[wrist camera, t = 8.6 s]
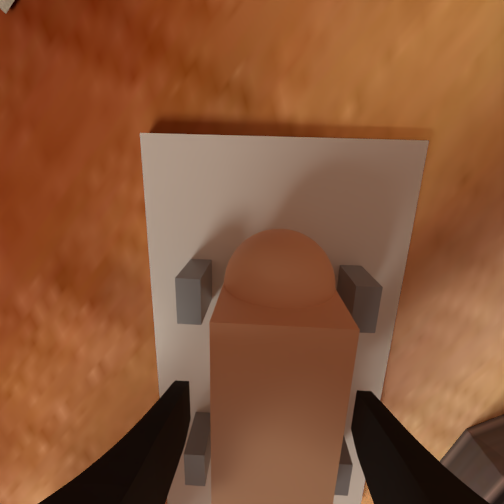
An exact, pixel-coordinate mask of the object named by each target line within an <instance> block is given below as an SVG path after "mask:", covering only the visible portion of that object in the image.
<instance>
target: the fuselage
mask: <svg viewBox="0 0 504 504" xmlns="http://www.w3.org/2000/svg"><path fill="white" fill-rule="evenodd" d="M209 329H210V426H211V504H333V500H334V493H335V487H336V481H337V474H338V468H339V461H340V455H341V448H342V442H343V435H344V429H345V422H346V416H347V410H348V403H349V397H350V390H351V384H352V377H353V371H354V364H355V358H356V352H357V345H358V339H359V332H360V329H359V328H358V326H357V324H356V323H355V321H354V319H353V318H352V316H351V314H350V312H349V311H348V309H347V307H346V306H345V304H344V302H343V301H342V299H341V297H340V296H339V294H338V292H337V291H336V289H335V275H334V271H333V267H332V265H331V262H330V260H329V258H328V256H327V255H326V253H325V252H324V250H323V249H322V248H321V247H320V246H319V245H318V244H317V243H316V242H315V241H314V240H312V239H311V238H310V237H308V236H306V235H304V234H302V233H300V232H297V231H293V230H289V229H270V230H265V231H262V232H259V233H257V234H254V235H252V236H251V237H249V238H247V239H246V240H245V241H244V242H242V243H241V244H240V245H239V246H238V247H237V249H236V250H235V251H234V253H233V254H232V256H231V258H230V260H229V262H228V265H227V267H226V272H225V277H224V283H223V286H222V289H221V292H220V294H219V297H218V300H217V303H216V306H215V308H214V311H213V314H212V317H211V319H210V322H209Z"/></svg>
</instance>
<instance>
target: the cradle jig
mask: <svg viewBox="0 0 504 504" xmlns="http://www.w3.org/2000/svg"><path fill="white" fill-rule="evenodd" d="M140 142H141V155H142V168H143V182H144V195H145V209H146V222H147V235H148V249H149V262H150V276H151V289H152V302H153V316H154V329H155V342H156V356H157V369H158V383H159V396H160V397H161V396H162V395H163V394H164V393H165V392H166V390H167V389H168V388H169V387H170V385H171V384H172V383H173V382H174V381H175V380H177V381H189V389H190V415H191V420H190V424H189V429H188V433H187V438H186V442H185V446H184V449H183V452H182V455H181V458H180V461H179V464H178V467H177V470H176V472H175V475H174V478H173V481H172V484H171V487H170V490H169V493H168V496H167V503H168V504H211V426H210V329H209V322H210V319H211V317H212V314H213V311H214V308H215V306H216V303H217V300H218V297H219V294H220V292H221V289H222V286H223V283H224V277H225V272H226V267H227V265H228V262H229V260H230V258H231V256H232V254H233V253H234V251H235V250H236V249H237V247H238V246H239V245H240V244H241V243H242V242H244V241H245V240H246V239H247V238H249V237H251V236H252V235H254V234H257V233H259V232H262V231H265V230H270V229H289V230H293V231H297V232H300V233H302V234H304V235H306V236H308V237H310V238H311V239H312V240H314V241H315V242H316V243H317V244H318V245H319V246H320V247H321V248H322V249H323V250H324V252H325V253H326V255H327V256H328V258H329V260H330V262H331V265H332V267H333V271H334V275H335V289H336V291H337V292H338V294H339V296H340V297H341V299H342V301H343V302H344V304H345V306H346V307H347V309H348V311H349V312H350V314H351V316H352V318H353V319H354V321H355V323H356V324H357V326H358V328H359V329H360V332H359V339H358V345H357V352H356V358H355V364H354V371H353V377H352V384H351V390H350V397H349V403H348V410H347V416H346V422H345V429H344V435H343V442H342V448H341V455H340V461H339V468H338V474H337V481H336V487H335V493H334V500H333V504H361V500H362V495H363V490H364V485H365V477H364V474H363V471H362V468H361V465H360V462H359V459H358V456H357V453H356V449H355V445H354V440H353V436H352V432H351V424H352V418H353V411H354V405H355V399H356V392H357V390H360V391H372V392H373V393H374V395H375V396H376V397H377V398H378V399H379V400H380V399H381V394H382V389H383V383H384V378H385V373H386V368H387V362H388V357H389V352H390V346H391V341H392V336H393V330H394V325H395V320H396V314H397V309H398V304H399V298H400V293H401V288H402V282H403V277H404V272H405V266H406V261H407V256H408V251H409V245H410V240H411V235H412V229H413V224H414V219H415V213H416V208H417V203H418V197H419V192H420V187H421V181H422V176H423V171H424V165H425V160H426V155H427V149H428V144H429V140H393V139H354V138H316V137H278V136H239V135H201V134H163V133H140Z"/></svg>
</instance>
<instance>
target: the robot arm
mask: <svg viewBox="0 0 504 504" xmlns="http://www.w3.org/2000/svg"><path fill="white" fill-rule="evenodd" d="M190 420H191V415H190V389H189V381H177V380H175V381H174V382H173V383H172V384H171V385H170V387H169V388H168V389H167V390H166V392H165V393H164V394H163V395H162V396H161V397H160V399H159V400H158V401H157V402H156V403H155V404H154V406H153V407H152V408H151V409H150V410H149V411H148V412H147V413H146V414H145V415H144V417H143V418H142V419H141V420H140V421H139V422H138V423H137V424H136V425H135V426H134V427H133V428H132V429H131V430H130V431H129V432H128V433H127V434H126V435H125V436H124V437H123V438H122V439H121V440H120V441H119V442H118V443H117V444H115V445H114V446H113V447H112V448H111V449H110V450H109V451H108V452H106V453H105V454H104V455H103V456H102V457H101V458H100V459H98V460H97V461H96V462H95V463H93V464H92V465H91V466H90V467H88V468H87V469H86V470H85V471H83V472H82V473H81V474H80V475H78V476H77V477H76V478H74V479H73V480H72V481H70V482H69V483H68V484H66V485H65V486H63V487H62V488H60V489H59V490H58V491H56V492H55V493H53V494H52V495H50V496H49V497H47V498H46V499H44V500H43V501H41V502H40V503H38V504H165V502H166V499H167V496H168V493H169V490H170V487H171V484H172V481H173V478H174V475H175V472H176V470H177V467H178V464H179V461H180V458H181V455H182V452H183V449H184V446H185V442H186V438H187V433H188V429H189V424H190ZM351 432H352V436H353V440H354V445H355V449H356V453H357V456H358V459H359V462H360V465H361V468H362V471H363V474H364V477H365V480H366V482H367V485H368V488H369V491H370V494H371V497H372V499H373V502H374V504H490V503H489V502H487V501H486V500H485V499H483V498H482V497H481V496H479V495H478V494H477V493H476V492H474V491H473V490H472V489H471V488H469V487H468V486H467V485H466V484H464V483H463V482H462V481H461V480H460V479H459V478H457V477H456V476H455V475H454V474H453V473H452V472H450V471H449V470H448V469H447V468H446V467H445V466H444V465H442V464H441V463H440V462H439V461H438V460H437V459H436V458H435V457H434V456H433V455H432V454H431V453H430V452H429V451H427V450H426V449H425V448H424V447H423V446H422V445H421V444H420V443H419V442H418V441H417V440H416V439H415V438H414V437H413V436H412V435H411V434H410V433H409V432H408V431H407V430H406V428H405V427H404V426H403V425H402V424H401V423H400V422H399V421H398V420H397V419H396V418H395V417H394V416H393V414H392V413H391V412H390V411H389V410H388V409H387V408H386V407H385V406H384V405H383V403H382V402H381V401H380V400H379V399H378V398H377V397H376V396H375V395H374V393H373V392H372V391H360V390H357V392H356V399H355V405H354V411H353V418H352V424H351Z"/></svg>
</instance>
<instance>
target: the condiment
mask: <svg viewBox="0 0 504 504" xmlns="http://www.w3.org/2000/svg"><path fill="white" fill-rule="evenodd" d="M14 1H15V0H0V8H1V9H2V10H3V11H4V12H5V13H7V11H8V10H9V8H10V7H11V5H12V3H13V2H14Z"/></svg>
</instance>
